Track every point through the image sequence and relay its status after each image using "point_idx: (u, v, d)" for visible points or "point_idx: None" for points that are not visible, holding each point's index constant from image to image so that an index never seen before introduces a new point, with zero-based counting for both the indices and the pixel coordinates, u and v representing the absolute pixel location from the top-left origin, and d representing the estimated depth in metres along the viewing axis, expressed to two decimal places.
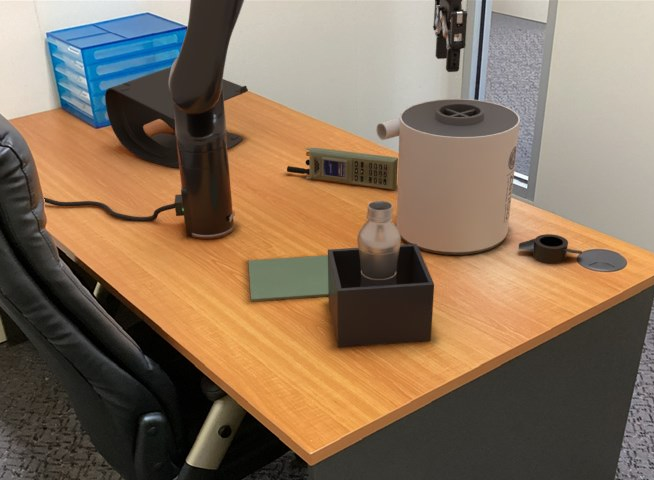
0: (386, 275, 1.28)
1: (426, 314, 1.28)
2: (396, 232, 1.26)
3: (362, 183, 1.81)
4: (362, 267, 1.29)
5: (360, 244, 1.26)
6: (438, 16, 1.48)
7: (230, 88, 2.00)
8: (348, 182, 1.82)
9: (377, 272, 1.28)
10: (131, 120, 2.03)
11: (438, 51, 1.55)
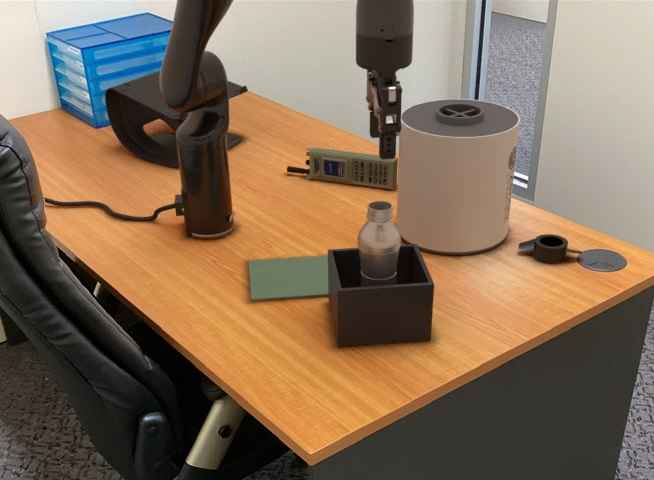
0: (386, 275, 1.28)
1: (426, 314, 1.28)
2: (396, 232, 1.26)
3: (362, 183, 1.81)
4: (362, 267, 1.29)
5: (360, 244, 1.26)
6: (369, 88, 1.16)
7: (230, 88, 2.00)
8: (348, 182, 1.82)
9: (377, 272, 1.28)
10: (131, 120, 2.03)
11: (372, 129, 1.22)
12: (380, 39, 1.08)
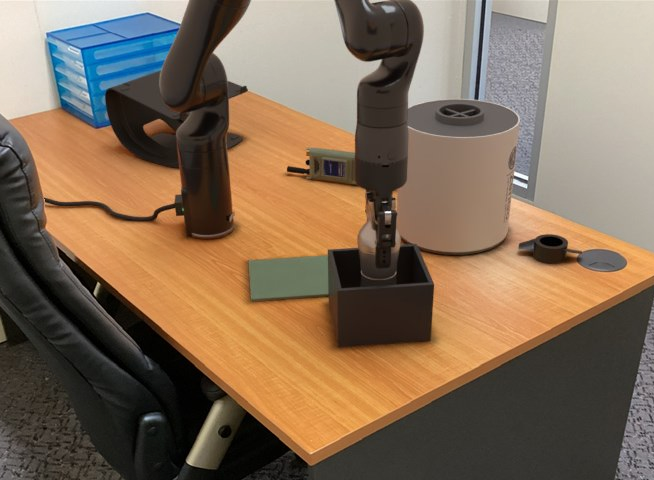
0: (386, 275, 1.28)
1: (426, 314, 1.28)
2: (396, 232, 1.26)
3: None
4: (362, 267, 1.29)
5: (360, 244, 1.26)
6: (367, 202, 1.25)
7: (230, 88, 2.00)
8: (348, 182, 1.82)
9: (377, 272, 1.28)
10: (131, 120, 2.03)
11: None
12: (377, 164, 1.17)
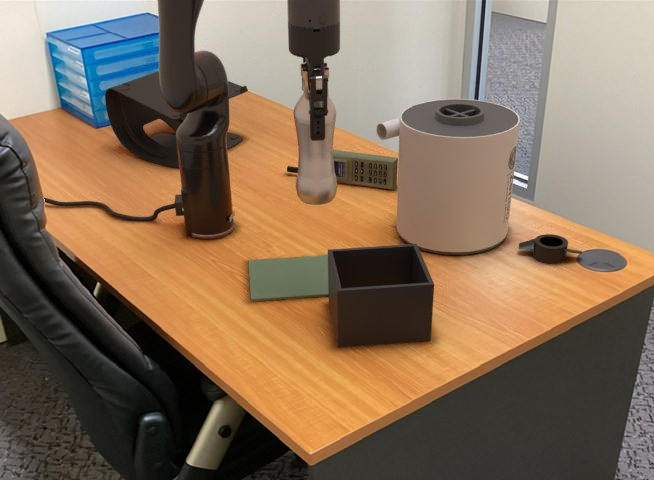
0: (322, 149, 1.30)
1: (426, 314, 1.28)
2: (331, 104, 1.27)
3: (362, 183, 1.80)
4: (299, 142, 1.31)
5: (295, 117, 1.28)
6: None
7: (230, 88, 2.00)
8: (348, 182, 1.82)
9: (313, 146, 1.30)
10: (131, 120, 2.03)
11: None
12: (308, 29, 1.19)
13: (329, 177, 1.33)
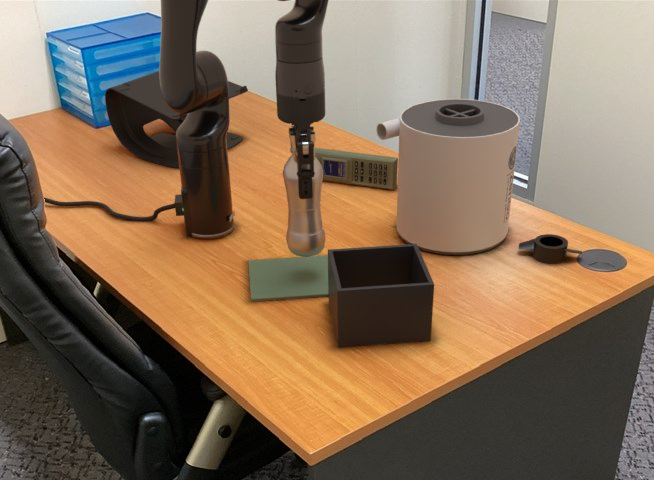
0: (310, 206, 1.38)
1: (426, 314, 1.28)
2: (318, 165, 1.36)
3: (362, 183, 1.80)
4: (288, 199, 1.39)
5: (285, 177, 1.37)
6: None
7: (230, 88, 2.00)
8: (348, 182, 1.82)
9: (302, 203, 1.38)
10: (131, 120, 2.03)
11: None
12: (295, 98, 1.27)
13: (317, 231, 1.41)
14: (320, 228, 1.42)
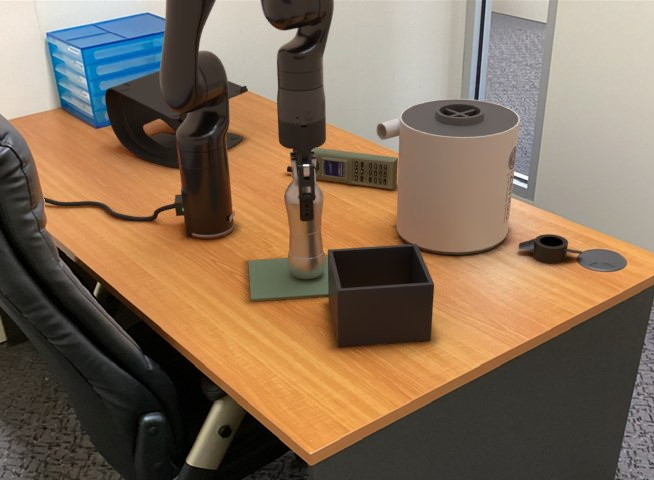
0: (311, 230, 1.41)
1: (426, 314, 1.28)
2: (318, 190, 1.38)
3: (362, 183, 1.80)
4: (289, 223, 1.42)
5: (286, 201, 1.39)
6: None
7: (230, 88, 2.00)
8: (348, 182, 1.82)
9: (302, 228, 1.40)
10: (131, 120, 2.03)
11: None
12: (296, 125, 1.29)
13: (318, 254, 1.44)
14: (321, 251, 1.44)
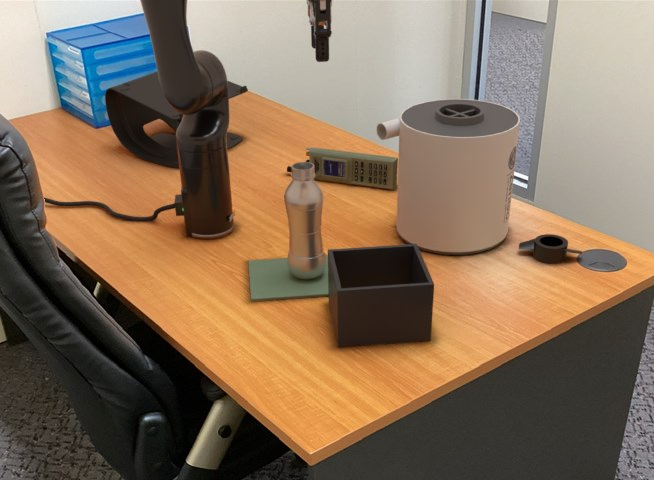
0: (310, 230, 1.41)
1: (426, 314, 1.28)
2: (318, 190, 1.38)
3: (362, 183, 1.80)
4: (289, 223, 1.42)
5: (286, 201, 1.39)
6: (308, 3, 1.41)
7: (230, 88, 2.00)
8: (348, 182, 1.82)
9: (302, 228, 1.40)
10: (131, 120, 2.03)
11: (313, 40, 1.47)
12: None
13: (318, 254, 1.44)
14: (321, 251, 1.44)
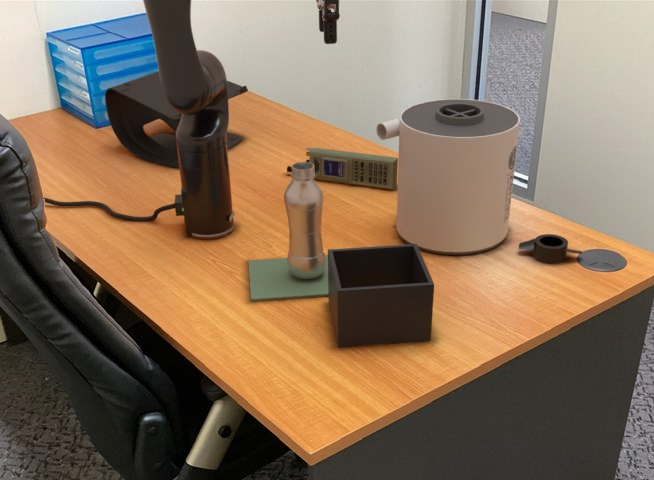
0: (310, 230, 1.41)
1: (426, 314, 1.28)
2: (318, 190, 1.38)
3: (362, 183, 1.80)
4: (289, 223, 1.42)
5: (286, 201, 1.39)
6: None
7: (230, 88, 2.00)
8: (348, 182, 1.82)
9: (302, 228, 1.40)
10: (131, 120, 2.03)
11: (321, 24, 1.54)
12: None
13: (318, 254, 1.44)
14: (321, 251, 1.44)
